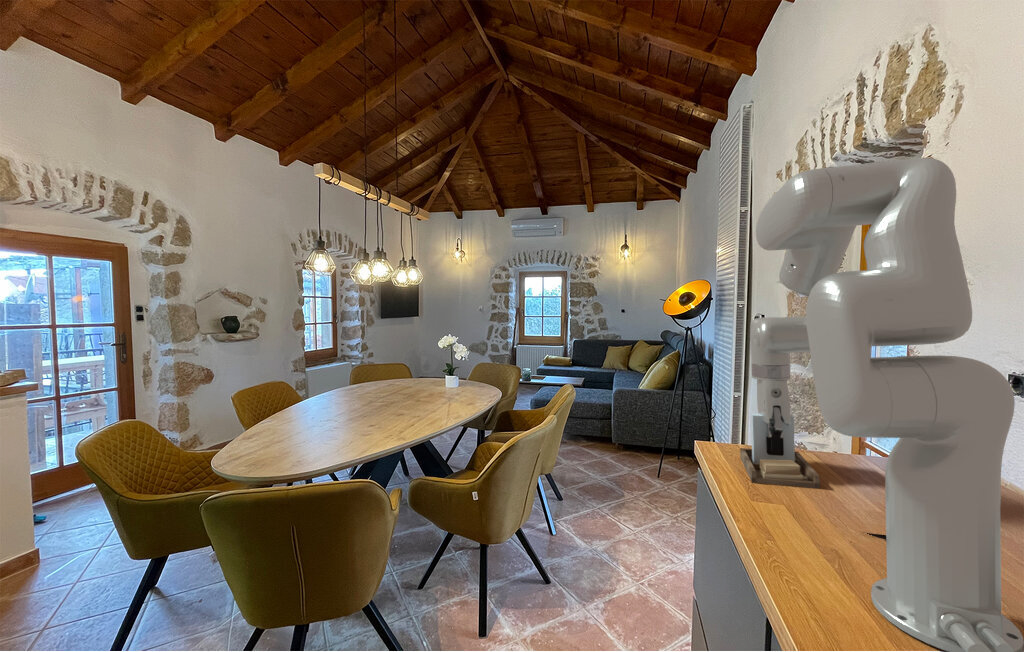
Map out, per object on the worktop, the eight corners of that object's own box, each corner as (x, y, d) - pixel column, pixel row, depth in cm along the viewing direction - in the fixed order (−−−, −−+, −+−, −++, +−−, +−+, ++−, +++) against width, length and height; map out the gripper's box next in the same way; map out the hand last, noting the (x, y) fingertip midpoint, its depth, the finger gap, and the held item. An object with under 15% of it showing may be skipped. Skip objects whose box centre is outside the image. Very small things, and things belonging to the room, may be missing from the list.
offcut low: (803, 484, 86) (803, 476, 86) (764, 481, 89) (764, 473, 88) (798, 478, 89) (798, 469, 89) (760, 475, 92) (760, 467, 92)
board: (795, 470, 93) (793, 417, 93) (754, 467, 96) (752, 415, 96) (792, 466, 96) (790, 414, 95) (752, 463, 98) (750, 413, 98)
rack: (820, 493, 84) (819, 476, 84) (752, 487, 88) (751, 470, 88) (798, 466, 98) (798, 451, 98) (740, 462, 102) (740, 448, 102)
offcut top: (800, 474, 87) (799, 466, 87) (765, 473, 88) (765, 465, 88) (792, 468, 90) (792, 460, 90) (759, 467, 91) (759, 459, 91)
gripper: (800, 377, 86) (803, 466, 87) (780, 366, 102) (782, 441, 102) (759, 377, 89) (761, 463, 89) (745, 366, 104) (747, 439, 105)
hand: (772, 450), depth 96 cm, fingers open, 3 cm apart
